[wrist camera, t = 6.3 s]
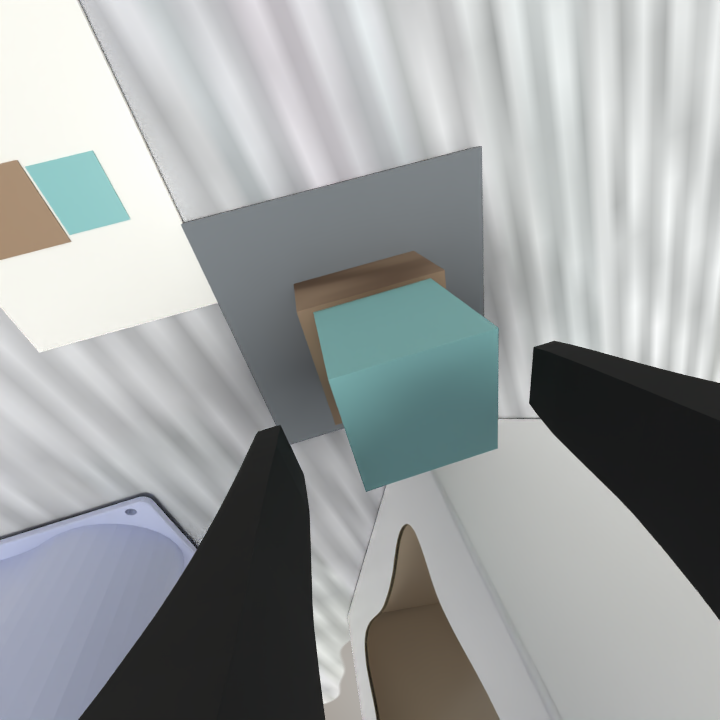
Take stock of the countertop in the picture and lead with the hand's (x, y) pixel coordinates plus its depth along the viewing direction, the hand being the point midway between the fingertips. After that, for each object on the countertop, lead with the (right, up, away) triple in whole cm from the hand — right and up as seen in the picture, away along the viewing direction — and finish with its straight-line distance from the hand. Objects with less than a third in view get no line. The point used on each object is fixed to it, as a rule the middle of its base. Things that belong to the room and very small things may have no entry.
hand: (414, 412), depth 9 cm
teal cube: (-1, +2, +3) cm, 3 cm away
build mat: (-1, +3, +6) cm, 7 cm away
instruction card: (-11, +7, +1) cm, 13 cm away
